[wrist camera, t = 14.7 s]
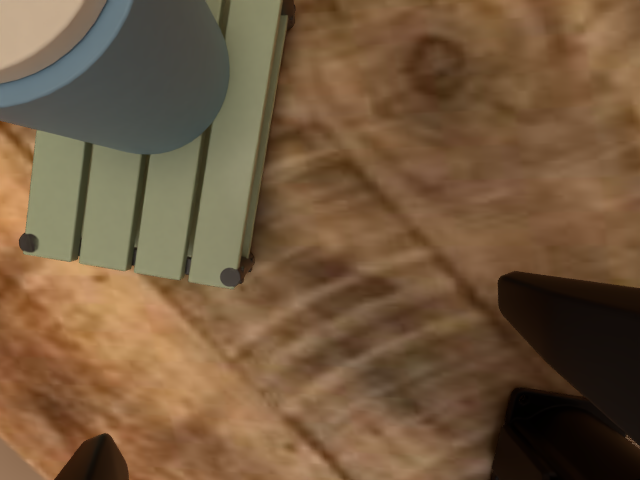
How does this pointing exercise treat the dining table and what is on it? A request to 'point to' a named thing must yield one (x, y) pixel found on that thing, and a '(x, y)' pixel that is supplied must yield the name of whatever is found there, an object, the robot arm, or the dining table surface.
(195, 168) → the rack
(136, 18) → the tissue tub
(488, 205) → the dining table surface
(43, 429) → the dining table surface
